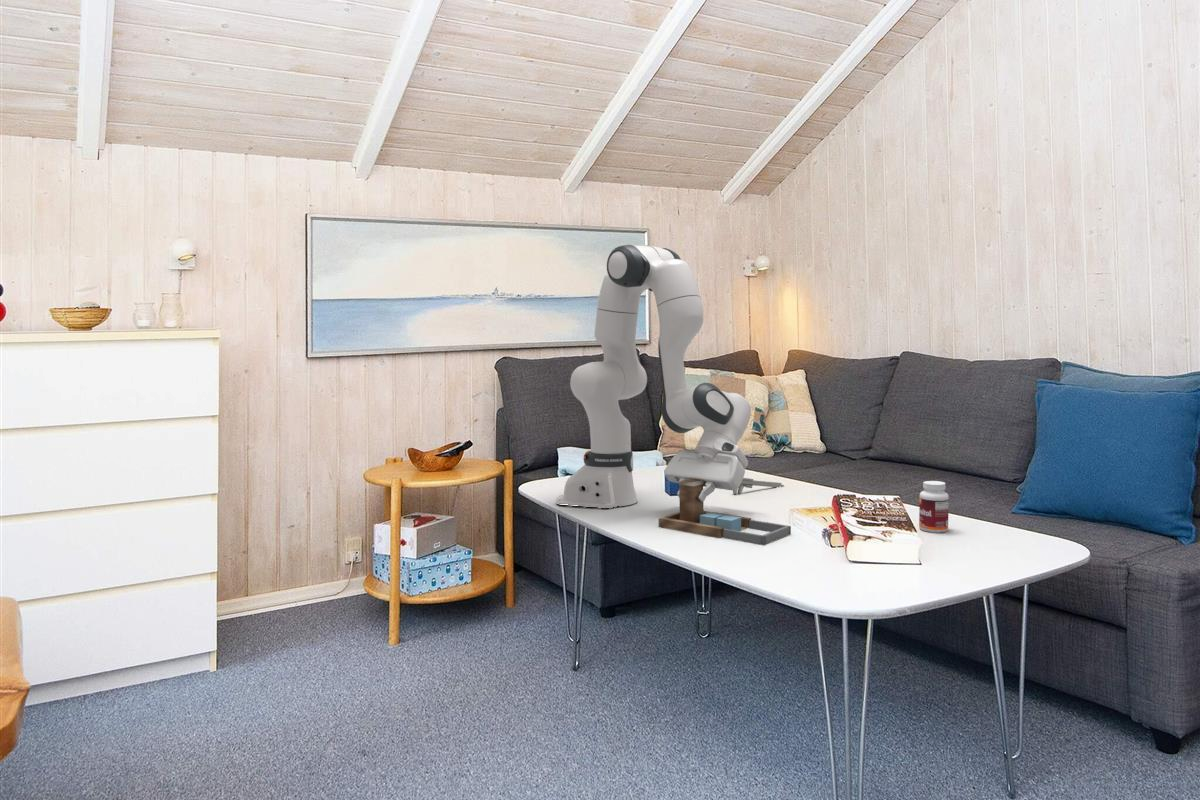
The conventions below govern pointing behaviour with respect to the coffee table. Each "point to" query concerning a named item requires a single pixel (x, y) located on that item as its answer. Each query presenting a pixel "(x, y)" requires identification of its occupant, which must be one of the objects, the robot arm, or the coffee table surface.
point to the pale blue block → (709, 518)
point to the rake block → (690, 500)
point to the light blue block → (729, 522)
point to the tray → (775, 534)
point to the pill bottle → (933, 507)
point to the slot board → (697, 525)
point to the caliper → (750, 482)
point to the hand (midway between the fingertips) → (689, 498)
